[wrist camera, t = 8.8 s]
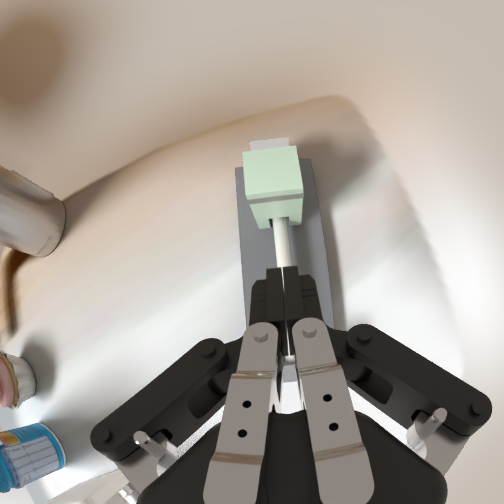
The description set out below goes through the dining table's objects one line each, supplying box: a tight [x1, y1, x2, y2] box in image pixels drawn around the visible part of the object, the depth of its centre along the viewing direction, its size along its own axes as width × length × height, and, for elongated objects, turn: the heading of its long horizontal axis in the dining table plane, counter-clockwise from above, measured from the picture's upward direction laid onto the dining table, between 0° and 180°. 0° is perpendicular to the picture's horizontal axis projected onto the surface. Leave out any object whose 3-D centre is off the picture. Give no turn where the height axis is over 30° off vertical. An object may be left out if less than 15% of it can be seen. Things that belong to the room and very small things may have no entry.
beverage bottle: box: [0, 423, 66, 493], centre depth 17 cm, size 8×8×20 cm
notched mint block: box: [242, 145, 304, 229], centre depth 23 cm, size 4×4×8 cm
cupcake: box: [0, 350, 36, 411], centre depth 25 cm, size 9×9×10 cm
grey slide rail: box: [235, 137, 334, 382], centre depth 25 cm, size 21×8×6 cm, turn 5°
